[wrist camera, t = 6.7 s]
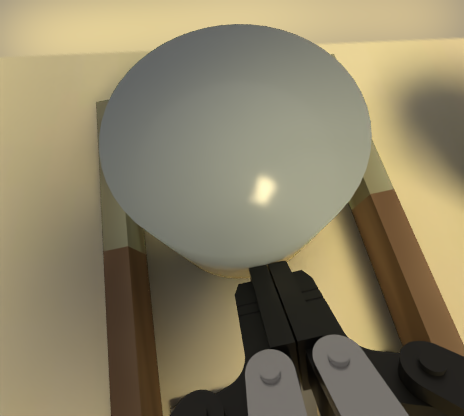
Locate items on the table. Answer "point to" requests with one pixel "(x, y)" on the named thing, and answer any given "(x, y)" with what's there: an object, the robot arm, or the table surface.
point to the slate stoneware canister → (235, 145)
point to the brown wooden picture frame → (408, 327)
